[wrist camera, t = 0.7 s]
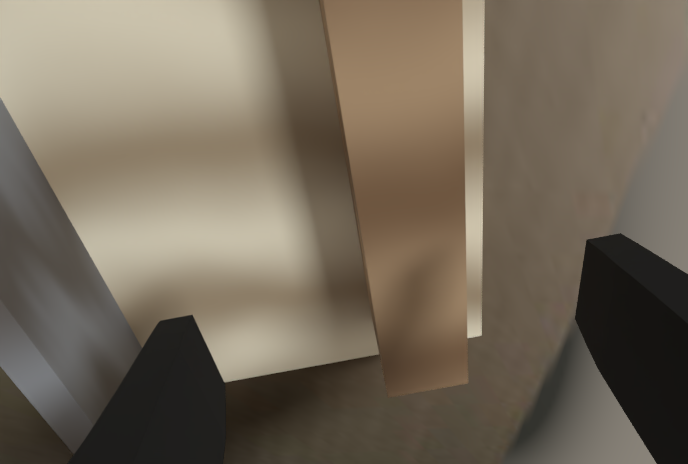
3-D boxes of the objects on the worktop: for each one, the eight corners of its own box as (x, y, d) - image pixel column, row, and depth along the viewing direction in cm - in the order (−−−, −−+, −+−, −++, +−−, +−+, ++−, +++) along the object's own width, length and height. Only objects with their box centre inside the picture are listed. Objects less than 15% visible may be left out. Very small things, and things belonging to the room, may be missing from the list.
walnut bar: (441, 309, 22) (468, 383, 19) (372, 321, 22) (388, 397, 19) (414, -199, 12) (459, -206, 9) (289, -175, 12) (294, -174, 9)
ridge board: (471, 310, 24) (520, 430, 19) (114, 375, 24) (76, 511, 19) (465, -325, 12) (594, -423, 7) (-248, -191, 12) (-589, -199, 7)
